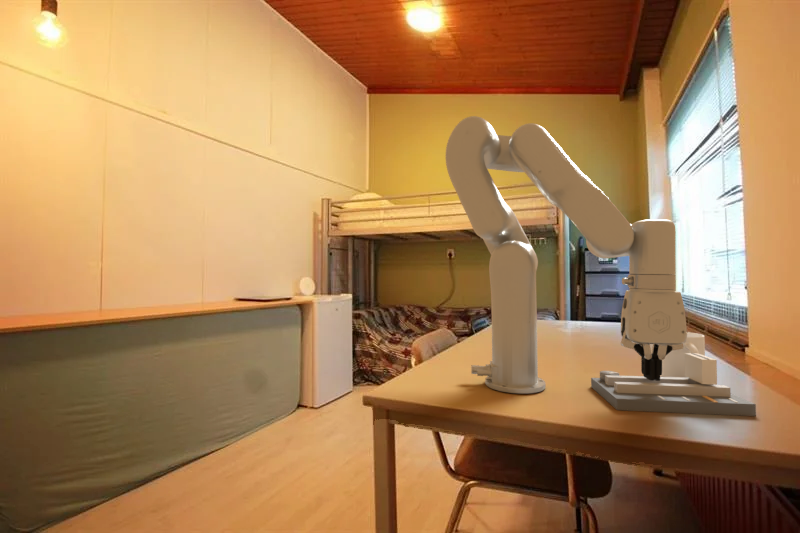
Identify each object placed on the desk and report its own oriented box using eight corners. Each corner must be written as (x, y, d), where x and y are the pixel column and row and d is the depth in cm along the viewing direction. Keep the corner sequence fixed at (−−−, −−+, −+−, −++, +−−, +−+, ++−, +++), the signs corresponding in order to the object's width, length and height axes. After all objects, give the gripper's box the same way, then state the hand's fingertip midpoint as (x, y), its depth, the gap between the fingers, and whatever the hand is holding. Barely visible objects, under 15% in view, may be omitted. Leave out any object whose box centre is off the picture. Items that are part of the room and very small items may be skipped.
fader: (700, 393, 71) (700, 358, 72) (683, 385, 77) (683, 352, 77) (719, 394, 71) (718, 359, 71) (700, 385, 76) (699, 352, 77)
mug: (721, 391, 80) (720, 340, 80) (674, 387, 82) (673, 339, 83) (695, 375, 92) (694, 332, 92) (655, 373, 94) (654, 330, 94)
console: (617, 410, 70) (616, 389, 70) (591, 386, 84) (591, 369, 84) (755, 416, 66) (755, 394, 66) (705, 390, 80) (704, 372, 80)
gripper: (618, 284, 73) (617, 382, 73) (706, 285, 71) (706, 386, 71) (603, 282, 80) (603, 371, 80) (683, 283, 78) (682, 375, 78)
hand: (651, 378), depth 75 cm, fingers closed
